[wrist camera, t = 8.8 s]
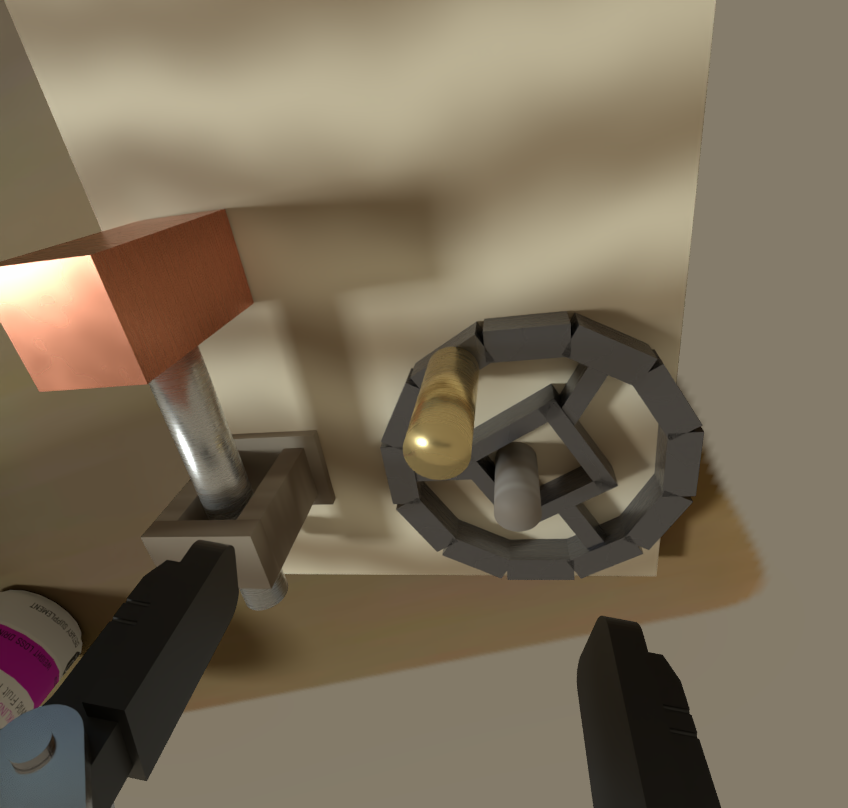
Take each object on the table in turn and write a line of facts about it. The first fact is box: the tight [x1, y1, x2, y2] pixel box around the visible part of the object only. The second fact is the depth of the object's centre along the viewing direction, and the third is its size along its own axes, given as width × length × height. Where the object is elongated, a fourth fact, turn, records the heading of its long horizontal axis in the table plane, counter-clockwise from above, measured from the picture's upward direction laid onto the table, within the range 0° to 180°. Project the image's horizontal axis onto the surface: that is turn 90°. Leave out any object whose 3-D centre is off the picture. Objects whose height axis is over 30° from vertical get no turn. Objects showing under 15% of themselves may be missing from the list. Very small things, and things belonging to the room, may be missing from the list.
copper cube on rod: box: [0, 209, 292, 610], centre depth 22 cm, size 18×4×8 cm, turn 8°
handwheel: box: [380, 311, 704, 580], centre depth 22 cm, size 14×14×8 cm
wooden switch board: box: [4, 0, 716, 589], centre depth 20 cm, size 30×24×8 cm
